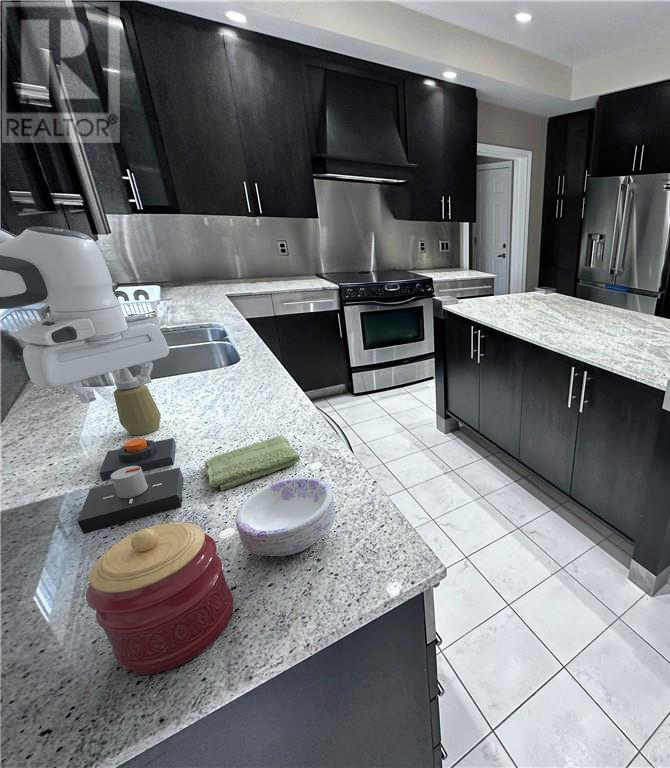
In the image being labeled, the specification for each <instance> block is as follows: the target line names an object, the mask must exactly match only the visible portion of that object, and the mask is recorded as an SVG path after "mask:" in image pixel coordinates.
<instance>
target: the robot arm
mask: <svg viewBox="0 0 670 768" xmlns="http://www.w3.org/2000/svg"><path fill="white" fill-rule="evenodd" d="M36 304H45V305H47V306H48V307H49V308H50V310H51V313H52V315H50V316H48V317H46V318H44V319H42V320H40V321H37V322H35V323H33V324H30V325H28V326H26V327H24V328H21V329H19V331H18V335H19V338H20V339H21V340H22V341H23V342H26V343H27V344H26V345H25V346H24V348H23V351H22V357H23V362H24V365H25V368H26V372H27V374H28V376H29V379H30V381H31V382H32V383H33V384H34V385H37V386H39V387H43V388H47V389H55V388H57V387H58V388H59V387H62V386H64V387H65V388H66V389H68V390H69V391H71V392H73V393H75V394H76V395H77V396H78V399H79V401H80V402H81V403H83V404H88V403H91V402H95V401H97V398H96V396H95V393H94V391H90V390H84V389H83V388H81V387H82V386H83V383H82V381H84V380H87V379H90V378H94V377H98V376H102V375H105V374H109V373H112V372H116V371H119V370H120V369H124V368H127V369H128V368H131V367H134V366H137V365H138V366H139V367H141V368H140V372H139V374H137V375H135V377H136V379H137V380H138V381H137V382H138V383H139V384H142V385H148V384H150V383H152V378H151V374H152V371H153V368H154V363H153V361H156V360H159V359H163V358H166V357H168V355H169V354H170V347H169V345H168V342H167V340H166V337H165V335H164V334H163V333H162V331H161V326H160V322H159V320H158V318H157V317H155V316H154V315H151V314H148V313H140V314H137V315H136V314H135V315H129V316H125V314H124V311H123V309H122V308H123V307H122V305H121V302H120V300H119V298H117V296H116V295H115V293H114V290H113V278H112V276H111V273H110V270H109V268H108V265H107V262H106V260H105V257H104V255H103V253H102V252H101V249H100V248H99V246H98V244H97V243H96V241H95V240H94V239H93V238H92V237H90V236H89V235H88V234H85V233H83V232H80V231H77V230H73V229H68V228H63V227H62V228H61V227H51V226H50V227H49V226H31V227H28V228H26V229H25V230H23V231H22V232H21V233H20V234H19V235H16V234H14V233H12V232H10V231H8V230H6V229H4V228H1V227H0V310H13V309H14V310H15V309H21V308H25V307H28V306H34V305H36Z"/></svg>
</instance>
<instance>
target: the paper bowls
mask: <svg viewBox="0 0 670 768" xmlns="http://www.w3.org/2000/svg"><path fill="white" fill-rule="evenodd" d="M335 504H336V503H335V498H334V492H333V490H332V488H331V486H330V485H329V484H328V483H327V482H325V481H324V480H322V479H318V478H314V477H307V476H306V477H301V476H300V477H291V478H287V479H282V480H279V481H276V482H273V483H271V484H268V485H266V486H264V487H261V488H260V489H258V490H257V491H255V492H254V493H252V494H251V495H250V496H248V497H247V498H246V499H245V500H244V501H243V502H242V503H241V505H240V506H239V507H238V509H237V511H236V514H235V517H234V518H235V519H234V520H235V521H234V523H235V525H236V529H237V533H238V535H239V539H240V541H241V544H242V546H243V547H244V549H246V550H247V551H248V552H250V553H252V554H255V555H258V556H265V557H266V556H269V557H272V556H273V557H287V556H292V555H295V554H298V553H301V552H303V551H304V550H306V549H309V548H310V547H311V546H312V545H314V544H315V543H316V542H317V541H318V540H319V539H320V538H322V537H323V536H324V535H325V534H326V533H327V532H328V531H329V530H330V529H331V528H332V526H333V525H334V522H335V520H336V514H337V511H336V509H337V508H336V505H335Z"/></svg>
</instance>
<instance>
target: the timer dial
mask: <svg viewBox="0 0 670 768" xmlns="http://www.w3.org/2000/svg"><path fill="white" fill-rule="evenodd" d="M144 476H145V474H144V472H142V469H141V467H139V466H129V467H125V468H122V469H119V470H117V471H115V472H114V473H112V474H111V476H110V477H111V479H110V480H111V481H112V483H113V485H114V487H115V490H116V492H117V494H118V497H120V498H131V497H134V496H137V495H140V494H142V493H143V492H145V491H146V490H147V488H148V485H147V483H146V480H145V477H144Z"/></svg>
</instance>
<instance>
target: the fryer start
mask: <svg viewBox="0 0 670 768" xmlns="http://www.w3.org/2000/svg"><path fill="white" fill-rule="evenodd" d="M146 440H147V439H145V438H143V437H138V438H132V439H129V440H128V441H126V442H124V444H123V446H125V448H126V451H127V452H136V451H140V450H142V449H145V448H146V447H147V443H146Z"/></svg>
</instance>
